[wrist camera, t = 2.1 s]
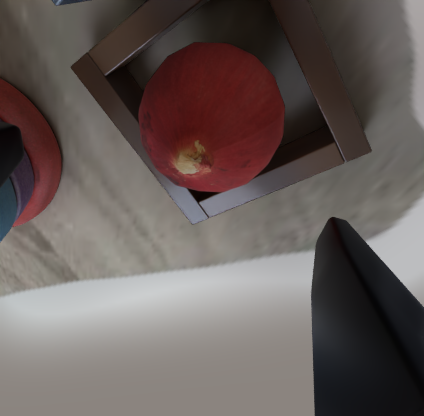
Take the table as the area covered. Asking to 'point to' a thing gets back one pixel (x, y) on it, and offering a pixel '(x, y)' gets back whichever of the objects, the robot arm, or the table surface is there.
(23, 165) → the stacking bear
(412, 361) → the robot arm
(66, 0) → the blue open box
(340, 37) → the table surface
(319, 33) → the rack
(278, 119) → the red round fruit
